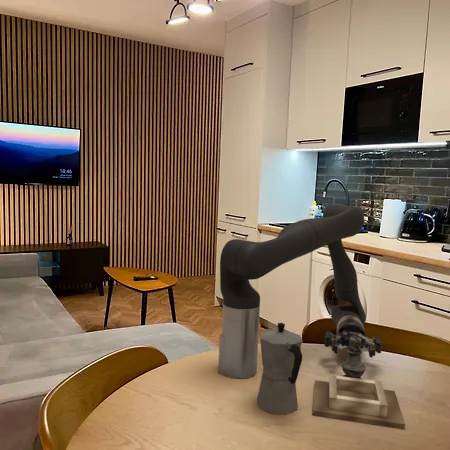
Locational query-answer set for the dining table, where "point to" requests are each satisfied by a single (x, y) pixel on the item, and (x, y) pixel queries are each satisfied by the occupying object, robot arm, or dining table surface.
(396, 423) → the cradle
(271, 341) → the coffeepot
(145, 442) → the dining table surface
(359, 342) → the salt shaker
